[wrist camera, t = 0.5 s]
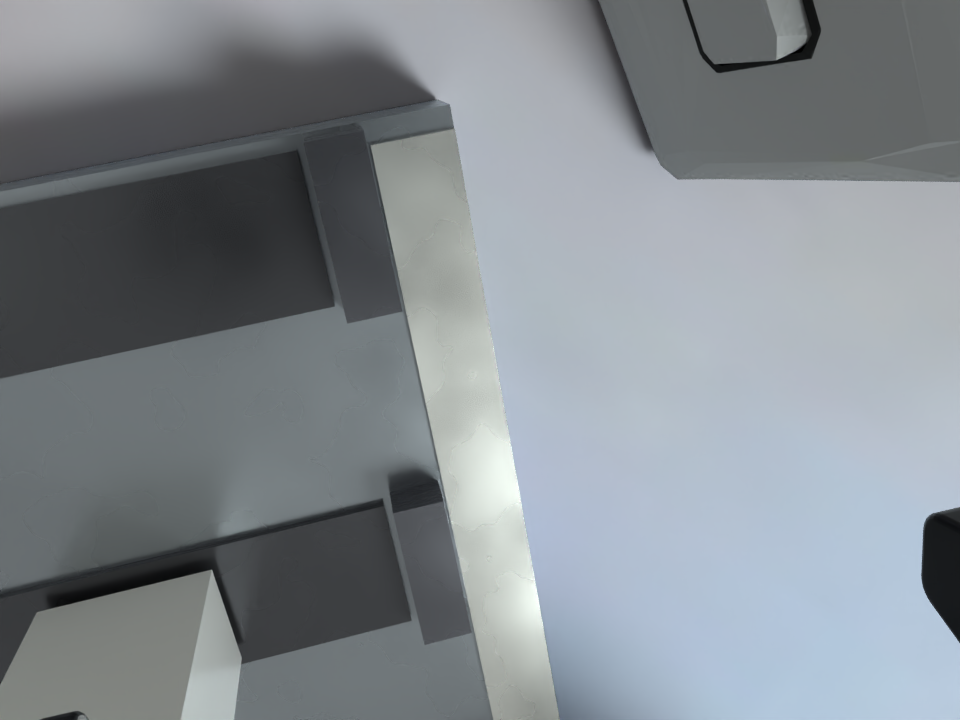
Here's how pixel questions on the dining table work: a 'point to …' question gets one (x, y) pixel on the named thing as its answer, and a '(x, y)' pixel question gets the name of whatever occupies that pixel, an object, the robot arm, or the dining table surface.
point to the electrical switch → (795, 86)
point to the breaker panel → (273, 416)
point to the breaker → (129, 657)
